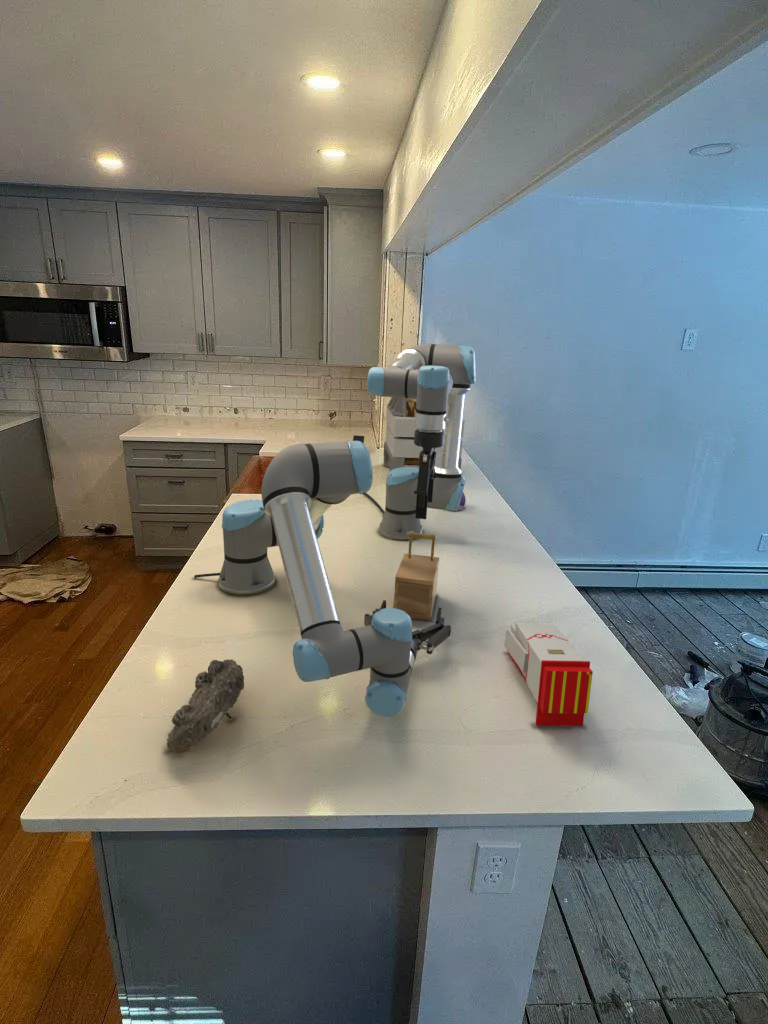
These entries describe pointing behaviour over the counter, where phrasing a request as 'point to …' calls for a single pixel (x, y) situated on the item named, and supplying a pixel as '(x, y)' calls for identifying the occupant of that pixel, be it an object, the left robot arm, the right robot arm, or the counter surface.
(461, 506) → the figurine
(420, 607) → the chest
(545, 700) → the toy
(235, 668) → the fossil
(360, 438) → the figurine character
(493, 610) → the counter surface
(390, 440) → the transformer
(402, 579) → the lid
